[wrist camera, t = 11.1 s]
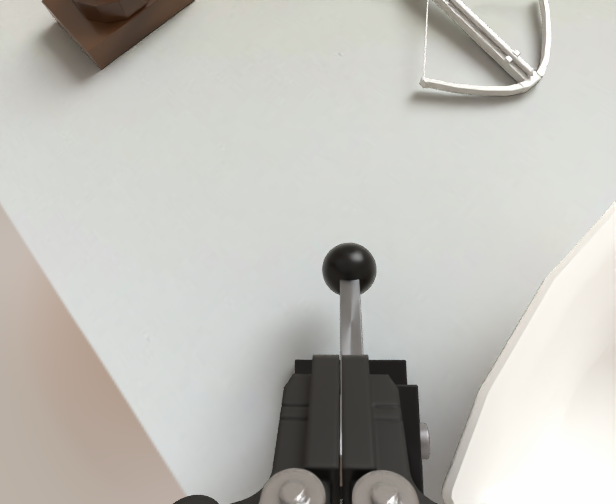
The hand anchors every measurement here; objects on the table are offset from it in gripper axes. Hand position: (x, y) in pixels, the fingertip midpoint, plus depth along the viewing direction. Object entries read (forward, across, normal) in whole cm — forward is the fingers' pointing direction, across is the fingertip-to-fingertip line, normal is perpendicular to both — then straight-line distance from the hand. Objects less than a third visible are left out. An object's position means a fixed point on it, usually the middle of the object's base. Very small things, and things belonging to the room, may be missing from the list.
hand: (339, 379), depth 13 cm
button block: (+35, +18, -8) cm, 41 cm away
